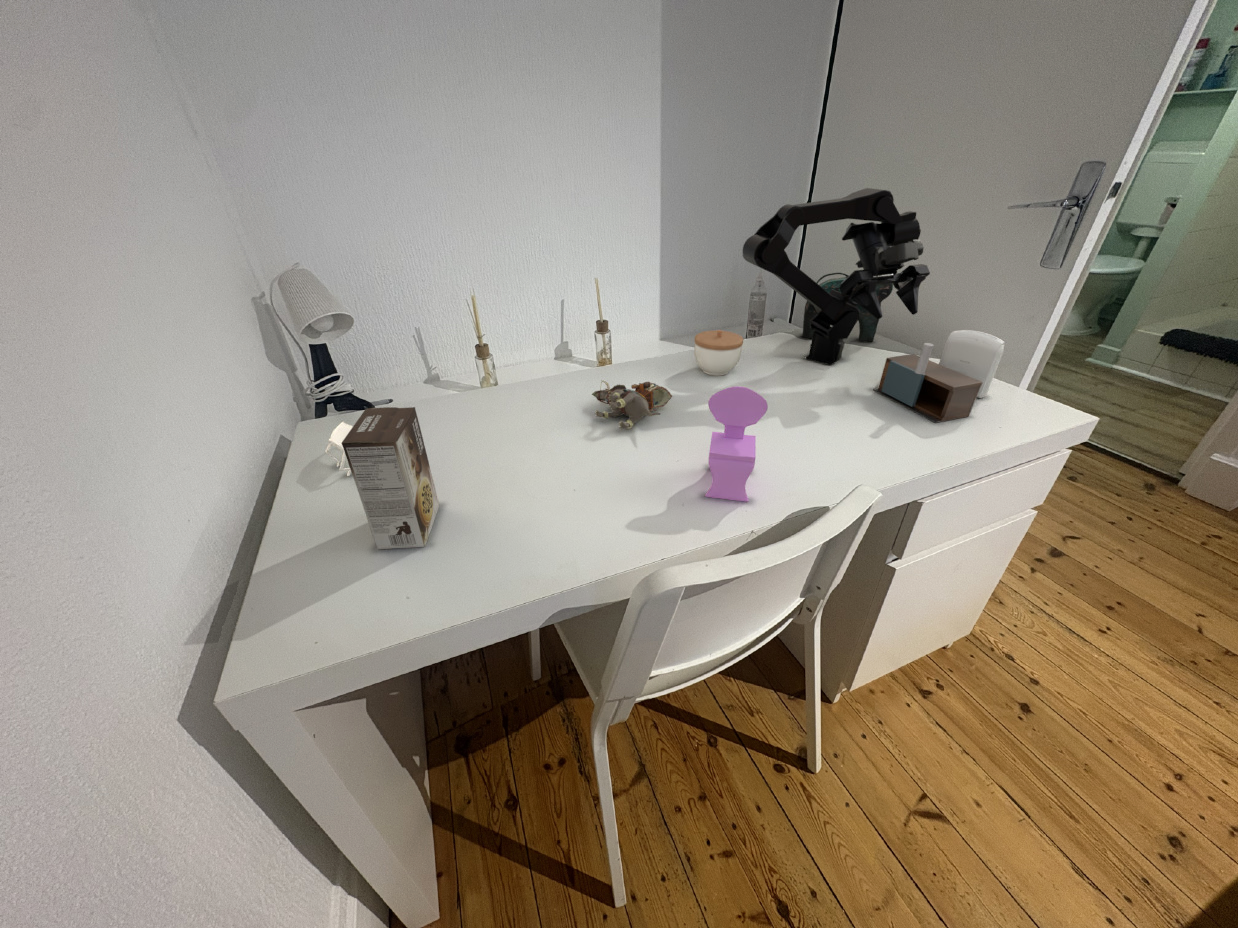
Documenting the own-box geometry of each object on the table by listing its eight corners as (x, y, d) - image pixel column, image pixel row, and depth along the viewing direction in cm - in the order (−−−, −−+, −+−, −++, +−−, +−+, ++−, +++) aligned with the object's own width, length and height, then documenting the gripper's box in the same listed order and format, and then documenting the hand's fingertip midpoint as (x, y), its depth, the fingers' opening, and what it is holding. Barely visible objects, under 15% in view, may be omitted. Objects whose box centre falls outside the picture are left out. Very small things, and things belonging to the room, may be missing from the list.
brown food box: (395, 508, 74) (365, 406, 65) (441, 505, 74) (417, 404, 66) (375, 550, 66) (338, 442, 57) (426, 547, 66) (396, 439, 58)
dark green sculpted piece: (876, 337, 137) (897, 258, 126) (881, 345, 131) (903, 263, 121) (799, 332, 141) (813, 255, 130) (800, 340, 135) (815, 260, 125)
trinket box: (684, 373, 116) (687, 333, 111) (703, 359, 124) (706, 320, 119) (729, 383, 111) (733, 341, 106) (746, 367, 119) (751, 327, 114)
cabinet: (872, 390, 108) (881, 358, 104) (903, 385, 110) (913, 353, 106) (935, 423, 95) (948, 388, 91) (969, 416, 97) (982, 382, 93)
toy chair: (697, 497, 75) (706, 405, 67) (702, 466, 83) (711, 380, 75) (755, 504, 74) (771, 411, 66) (755, 472, 81) (769, 384, 73)
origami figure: (394, 462, 84) (386, 436, 82) (340, 481, 80) (330, 454, 77) (369, 436, 92) (361, 411, 89) (318, 452, 87) (309, 426, 85)
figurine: (567, 384, 98) (626, 362, 109) (570, 413, 101) (627, 388, 112) (647, 408, 86) (705, 380, 96) (647, 441, 89) (703, 410, 99)
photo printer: (928, 385, 110) (947, 328, 103) (936, 380, 112) (956, 324, 105) (980, 400, 103) (1004, 341, 96) (989, 395, 105) (1013, 336, 99)
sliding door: (879, 391, 106) (896, 333, 99) (885, 390, 106) (902, 332, 100) (910, 407, 99) (929, 346, 93) (916, 406, 100) (936, 345, 93)
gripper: (863, 227, 99) (890, 298, 96) (937, 222, 105) (965, 290, 102) (828, 263, 110) (851, 328, 107) (896, 256, 115) (921, 318, 112)
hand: (897, 316), depth 107 cm, fingers open, 9 cm apart
